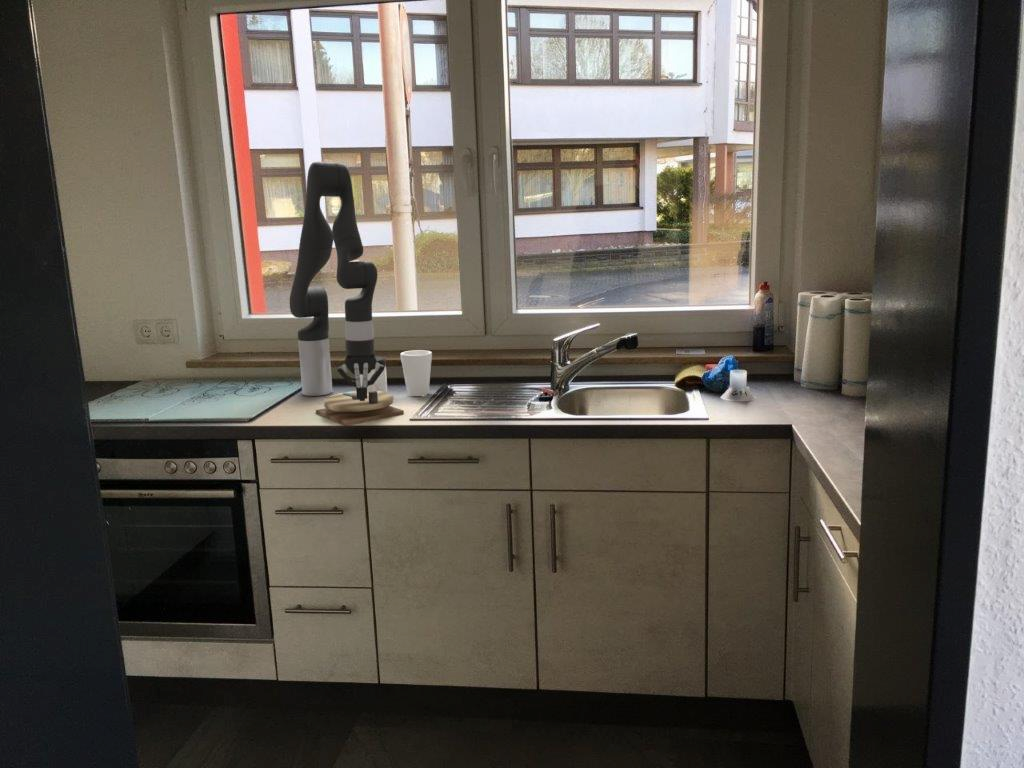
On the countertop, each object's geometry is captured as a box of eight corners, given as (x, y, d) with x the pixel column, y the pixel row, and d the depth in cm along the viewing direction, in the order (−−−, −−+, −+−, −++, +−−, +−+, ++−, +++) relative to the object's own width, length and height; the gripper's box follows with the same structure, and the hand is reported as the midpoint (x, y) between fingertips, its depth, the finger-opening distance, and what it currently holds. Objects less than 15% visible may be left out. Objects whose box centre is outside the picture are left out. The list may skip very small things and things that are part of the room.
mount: (315, 413, 235) (315, 404, 234) (372, 402, 246) (371, 394, 245) (345, 425, 221) (344, 415, 220) (403, 413, 232) (403, 404, 231)
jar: (365, 402, 247) (363, 362, 244) (355, 397, 254) (352, 358, 251) (393, 397, 252) (391, 358, 249) (381, 393, 258) (379, 355, 256)
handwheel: (312, 403, 234) (310, 387, 233) (370, 392, 246) (369, 377, 245) (345, 415, 220) (344, 398, 219) (406, 403, 232) (405, 387, 231)
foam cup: (431, 397, 251) (429, 355, 248) (400, 398, 251) (398, 356, 248) (434, 390, 260) (432, 349, 257) (405, 391, 260) (403, 350, 257)
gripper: (334, 340, 216) (337, 405, 220) (385, 338, 219) (387, 402, 223) (334, 335, 223) (337, 398, 227) (383, 334, 226) (385, 396, 230)
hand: (362, 400), depth 225 cm, fingers closed
